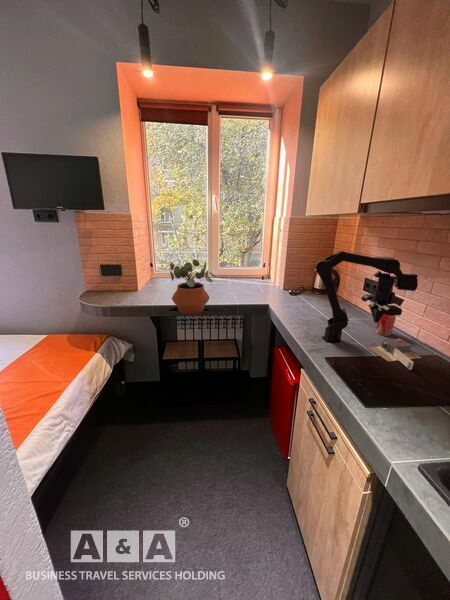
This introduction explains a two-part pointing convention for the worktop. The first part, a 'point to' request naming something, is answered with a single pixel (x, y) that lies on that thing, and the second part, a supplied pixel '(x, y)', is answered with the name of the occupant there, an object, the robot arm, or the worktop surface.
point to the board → (388, 355)
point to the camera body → (396, 345)
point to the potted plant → (190, 289)
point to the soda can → (385, 325)
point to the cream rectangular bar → (403, 358)
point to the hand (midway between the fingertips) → (375, 322)
